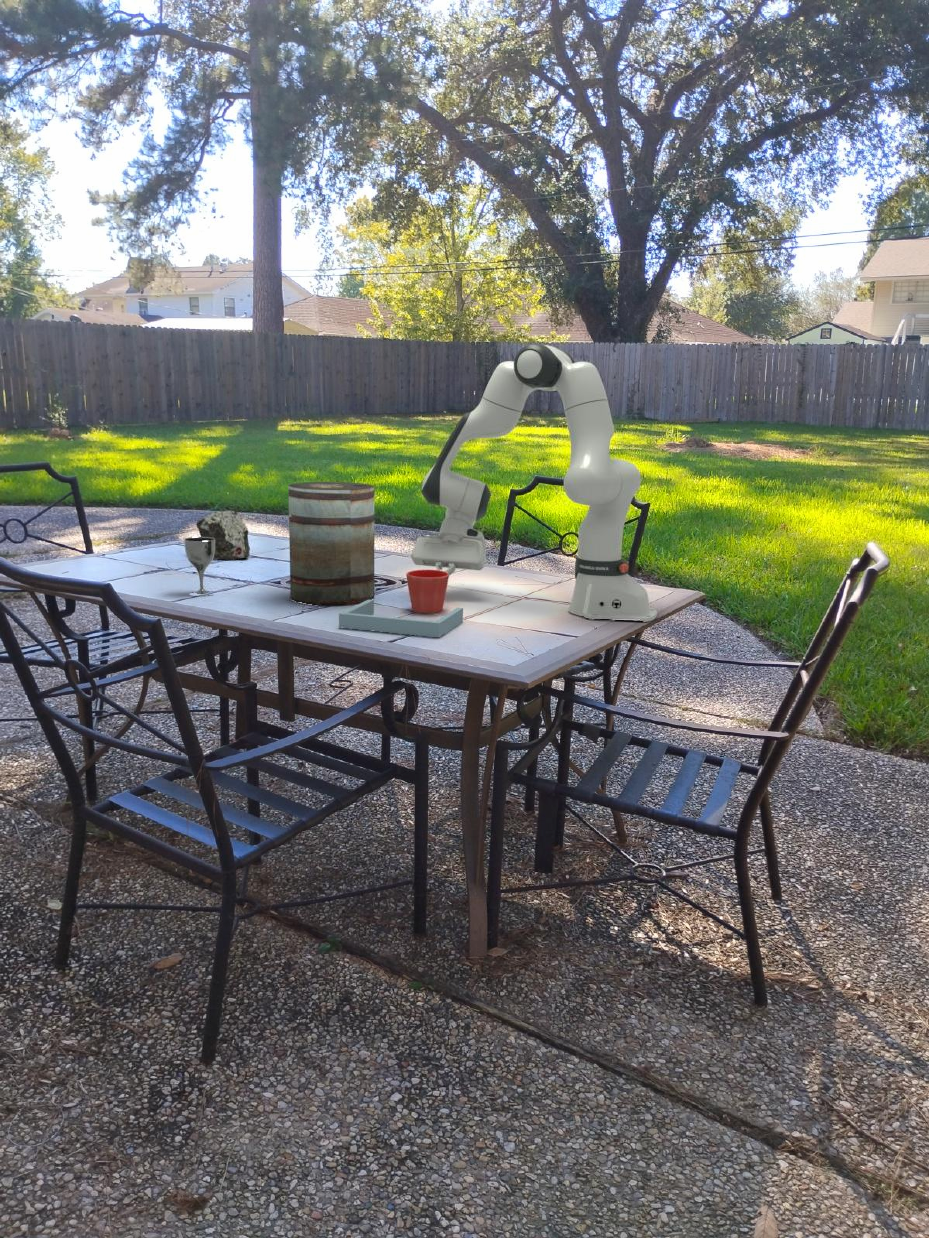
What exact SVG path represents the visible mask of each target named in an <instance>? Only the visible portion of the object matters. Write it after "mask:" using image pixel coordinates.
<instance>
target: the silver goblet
mask: <svg viewBox="0 0 929 1238" xmlns="http://www.w3.org/2000/svg"><path fill="white" fill-rule="evenodd" d="M184 551H185V554H186V555H185V556H186V558H187V561H188V562H189V563H190V564H191V565H192V566H193V567H194V569H195V570H196V572H197V574H198V579H199V589H198V590H196V591H194V592H195V593H197V594H204V593H208V592H210V591H211V590H206V589H204V575H205V571H206V569H207V568H208V567H209V566H210V564H211V563H212V562H213V560H214V558H215V556H214V554H215V538H212V537H201V536H191V537H185V538H184Z"/></svg>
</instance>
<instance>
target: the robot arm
mask: <svg viewBox="0 0 929 1238" xmlns="http://www.w3.org/2000/svg"><path fill="white" fill-rule="evenodd" d="M534 391H538V392H546V393H547V392H548V393H558V394H559V396H560V398H561V400H562V404H563V411H564V415H565V421H566V424H567V427H568V428H567V430H568V433H569V441H570V461H569V467H568V469H567V472H566V473H565V474H564V478H563V489H564V492H565V494H566V495H565V496H567V498H568V499H569V500H570V501H572V502H573V503H575V504H579V505H583V506H589V508H588V509H587V512H586V516H584V517H585V518H584V519H583V520H582V521H581V523H580V525H579V528H578V538H577V539H578V540H577V556H576V557H575V562H574V578H575V581H574V583H575V584H574V590H573V593H572V598H571V601H570V605H569V607H568V612H569V613H571V614H573V615H576V616H579V617H582V616H584V617H586V618H592V619H591V620H594V619H640V621H643V622H642V623H645V622H646V623H647V622H651V621H653V620H655V619H656V618H658V617H657V616H658V611H657V609H655V608H654V607H650V601H649V596H648V591H647V590H646V588H644V586H642V585H641V584H640V583H639V582H637V581H636V580H635V579H634V578H633V577H632V576H631V575H629V566H630V565H629V563H630V562H629V561H628V560H627V561H626V560H624V559H623V558H622V546H623V536H624V535H623V533H624V526H625V523H626V519H627V515H628V512H629V510H630V506H631V503H632V501H633V498H634V497H635V495H636V494H637V493H638V491H639V489H640V488H641V484H642V476H641V473H640V470H639V469H638V467H637V465H635V464H634V463H631V462H630V461H627V460H624V459H620V458H611V456H610V445H611V439H612V438H613V436H614V434H615V427H614V422H613V418H612V414H611V410H610V405H609V401H608V397H607V393H606V388H605V386H604V383H603V380H602V377H601V376H600V373H599V370H598V369H597V367H596V366H595V365H594V364H593V363H591V362H589V361H576V362H575V360H574V358H573V356H571V355H570V354H569V353H567V352H566V351H564V350H561V349H558V348H557V347H555V346H551V345H548V344H541V343H532V344H527V345H525V346H523V347H522V348H521V349H520V350H519V351H518V352H517V354H515V357H514V360H512V361H511V360H510V361H509V360H507V361H503V362H500V363H499V364H498V365H497V366H496V368H495V370H494V371H493V373H492V375H491V377H490V379H489V380H488V383H487V385H486V387H485V389H484V391H483V395H482V397H481V400H480V402H479V403H478V405H477V406H476V407H475V408H474V409H473V410H472V411H471V412H465V413H464V414H463V415H462V416H461V417H460V419H459V421H457V424H456V426H454V427H455V428H454V429H453V430H452V432H451V434H450V435H449V437H448V439H447V441H446V443H445V445H444V446H443V448H442V449H441V451H440V454H439V455H438V457H437V459H436V461H435V463H434V464H433V466H432V467H431V469H429V471H428V473H427V474H426V475H425V477H424V479H423V481H422V483H421V491H420V492H421V495H422V496H423V498H424V500H425V501H426V502H427V504H429V505H433V506H438V507H443V508H446V509H445V518H444V519H443V520H442V523H441V526H440V529H439V531H438V534H437V535H434V534H433V535H430V534H423V535H421V536H418V537H417V539H416V541H415V545H414V547H413V549H412V552H411V555H410V557H411V560H412V562H413V564H414V565H415V566H424V567H425V566H426V567H435V568H436V570H440V571H443V568H446V570H445V571H444V572H447V573H448V574H449V576H452V574H453V573H454V572H455V571H456V569H459V570H468V571H469V570H471V571H481V570H483V569H484V568H485V565H486V562H487V561H486V560H487V553H486V552H487V551H486V548H487V543H486V542H487V541H486V539H485V538H486V537H485V536H484V534H483V532H482V531H480V530H478V529H475V528H473V527H474V525H475V524H476V522H478V521H480V520H481V519H483V518H484V517H485V516H486V513H487V511H488V506H489V502H490V500H491V496H492V493H491V491H490V488H489V486H488V485H487V483H484V482H483V481H480V480H477V479H475V478H473V477H472V478H471V477H469V476H465V475H463V474H460V473H457V472H454V471H452V470H451V469H450V467H451V466H452V464H453V462H454V460H455V459H456V456H457V455H458V453H459V451H460V450H461V448H462V446H463V445H464V444H465V443H467V442H468V441H471V440H474V439H489V438H491V439H494V438H500V437H503V436H507V435H508V434H510V433H511V432H513V431H514V429H515V428H516V426H517V424H518V422H519V420H520V418H521V415H522V413H523V409H524V407H525V404H526V401H527V399H528V397H529V396H530V394H531V393H533V392H534ZM584 617H583V618H584ZM586 618H585V619H586Z"/></svg>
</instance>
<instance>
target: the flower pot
mask: <svg viewBox="0 0 929 1238" xmlns="http://www.w3.org/2000/svg"><path fill="white" fill-rule="evenodd" d="M405 575H406V582H407V589H408V593H409V599H410V600H409V601H410V603H411V609H412V611H413V612H414V613H419V614H438V613H440V612H442V611H443V609H444V604H445V599H446V595H447V588H448V582H449V579H450V575H449V574H448V573H447V572H444V571H443V570H437V569H416V570H410V571H407V572H406V573H405Z"/></svg>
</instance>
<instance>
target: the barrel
mask: <svg viewBox="0 0 929 1238" xmlns="http://www.w3.org/2000/svg"><path fill="white" fill-rule="evenodd" d="M288 527H289V528H288V530H289V531H288V534H289V535H288V536H289V537H288V538H289V583H290V585H289V588H290V589H289V591H290V592H289V593H290V594H289V595H290V600H291V599H292V600H294V601H296V602H295V603H297V602H302V603H306V604H312V605H311V606H314V605H318V606H317V607H347V606H348V607H349V606H356V605H358V604H360V603H362V602H364V601H366V600H372V599H373V600H374V599H375V485H373V484H370V483H361V482H351V481H350V482H346V481H310V482H309V481H308V482H296V483H290V484H288ZM292 600H291V601H292ZM294 601H293V602H294ZM306 604H305V605H306Z"/></svg>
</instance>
